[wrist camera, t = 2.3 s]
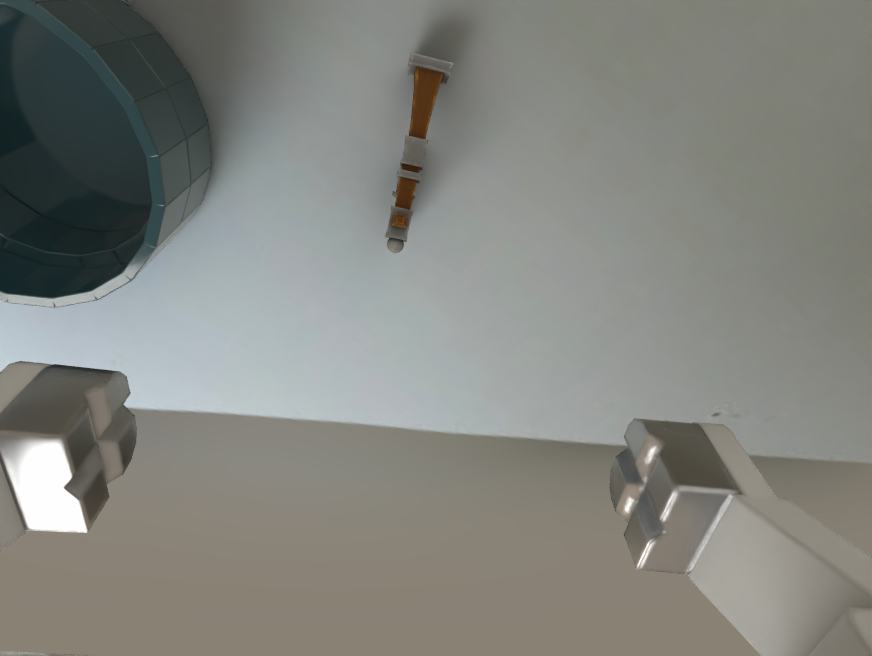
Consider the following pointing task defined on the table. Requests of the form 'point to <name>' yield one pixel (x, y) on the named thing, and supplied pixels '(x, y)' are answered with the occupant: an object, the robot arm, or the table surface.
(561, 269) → the table surface
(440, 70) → the wooden post with brackets
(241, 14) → the table surface
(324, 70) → the table surface
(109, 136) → the teal round bowl
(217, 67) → the table surface
